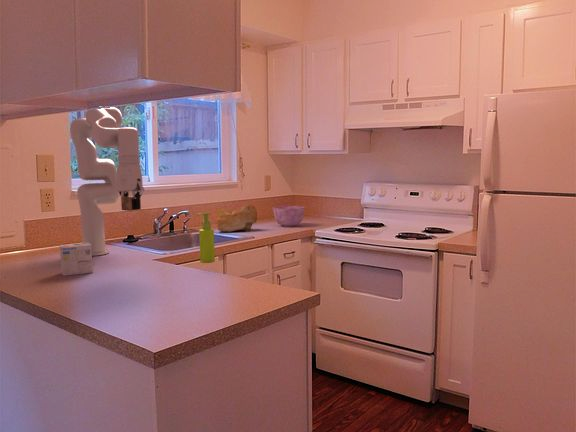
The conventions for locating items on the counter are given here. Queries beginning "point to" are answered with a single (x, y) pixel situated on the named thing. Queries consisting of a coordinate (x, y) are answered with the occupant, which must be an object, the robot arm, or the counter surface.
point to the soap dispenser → (206, 241)
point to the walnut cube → (128, 203)
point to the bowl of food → (288, 215)
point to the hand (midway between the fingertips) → (131, 208)
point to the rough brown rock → (236, 219)
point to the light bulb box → (76, 259)
